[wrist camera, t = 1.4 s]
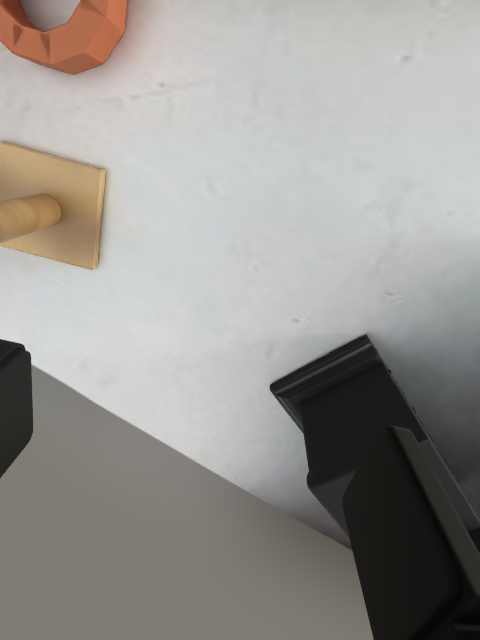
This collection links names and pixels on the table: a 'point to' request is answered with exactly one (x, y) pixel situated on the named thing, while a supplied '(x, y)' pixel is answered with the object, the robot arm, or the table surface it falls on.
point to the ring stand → (50, 206)
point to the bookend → (355, 423)
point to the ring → (65, 35)
